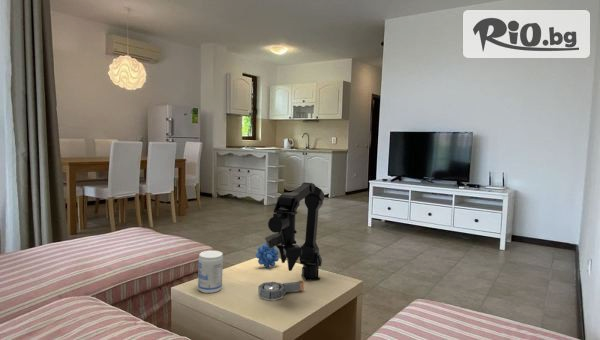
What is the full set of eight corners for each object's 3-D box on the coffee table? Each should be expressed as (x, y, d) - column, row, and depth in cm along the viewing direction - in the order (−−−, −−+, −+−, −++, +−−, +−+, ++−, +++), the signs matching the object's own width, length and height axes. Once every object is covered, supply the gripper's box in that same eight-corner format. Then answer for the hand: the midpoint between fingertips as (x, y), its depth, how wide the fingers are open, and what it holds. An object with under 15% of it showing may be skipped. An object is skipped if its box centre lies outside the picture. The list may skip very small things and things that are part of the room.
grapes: (258, 272, 172) (258, 246, 172) (253, 267, 179) (254, 242, 178) (281, 269, 177) (282, 244, 176) (276, 264, 183) (277, 240, 182)
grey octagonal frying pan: (298, 284, 157) (298, 277, 156) (307, 294, 148) (307, 286, 147) (256, 289, 150) (256, 282, 150) (262, 299, 141) (262, 291, 141)
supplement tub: (193, 290, 149) (193, 254, 148) (208, 282, 158) (208, 248, 157) (212, 295, 146) (213, 258, 144) (227, 287, 154) (227, 252, 153)
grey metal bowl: (279, 288, 154) (279, 280, 154) (287, 298, 145) (287, 289, 144) (256, 291, 150) (256, 283, 150) (262, 302, 141) (262, 292, 141)
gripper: (261, 222, 150) (260, 260, 151) (273, 234, 132) (272, 277, 133) (288, 221, 153) (287, 258, 155) (303, 232, 136) (302, 274, 137)
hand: (286, 266), depth 145 cm, fingers open, 9 cm apart
